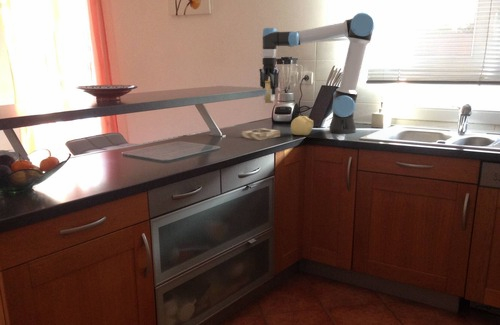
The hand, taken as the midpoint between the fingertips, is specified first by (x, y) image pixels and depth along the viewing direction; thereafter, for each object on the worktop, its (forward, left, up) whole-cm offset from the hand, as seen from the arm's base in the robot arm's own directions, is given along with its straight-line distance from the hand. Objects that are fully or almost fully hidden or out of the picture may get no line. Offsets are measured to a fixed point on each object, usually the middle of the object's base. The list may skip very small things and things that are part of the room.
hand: (269, 100), depth 248 cm
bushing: (0, 0, -1) cm, 1 cm away
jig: (-3, +10, -19) cm, 22 cm away
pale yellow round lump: (-16, -9, -19) cm, 27 cm away
